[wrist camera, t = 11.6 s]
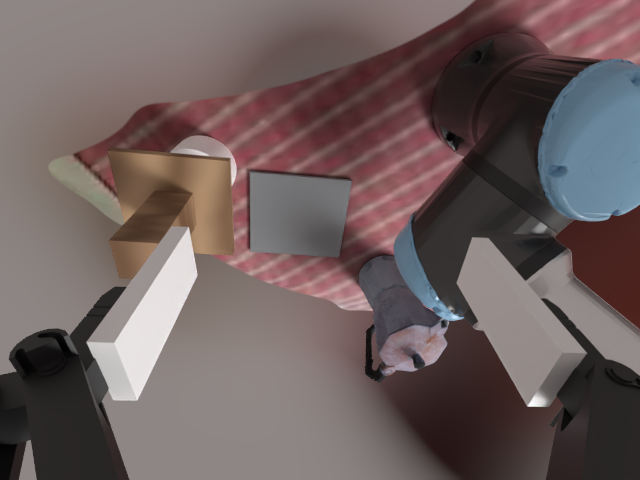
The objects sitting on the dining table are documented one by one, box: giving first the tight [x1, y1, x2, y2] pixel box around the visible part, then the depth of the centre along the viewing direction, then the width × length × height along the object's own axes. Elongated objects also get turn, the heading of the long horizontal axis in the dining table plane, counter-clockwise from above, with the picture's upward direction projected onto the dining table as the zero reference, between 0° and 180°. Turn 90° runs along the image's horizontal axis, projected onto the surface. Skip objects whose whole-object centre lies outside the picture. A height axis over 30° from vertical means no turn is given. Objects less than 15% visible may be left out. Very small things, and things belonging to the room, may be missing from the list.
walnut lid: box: [107, 148, 234, 279], centre depth 33 cm, size 12×12×11 cm
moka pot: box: [359, 255, 449, 382], centre depth 52 cm, size 10×15×20 cm, turn 146°
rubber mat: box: [250, 171, 352, 257], centre depth 53 cm, size 15×14×1 cm
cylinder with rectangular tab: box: [170, 135, 236, 185], centre depth 43 cm, size 9×9×12 cm
